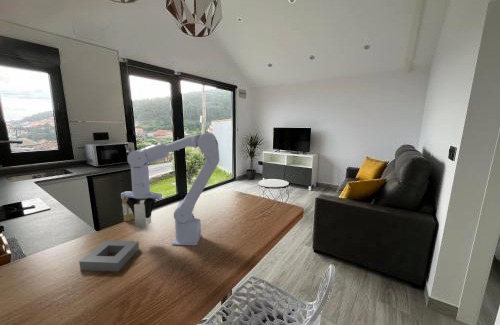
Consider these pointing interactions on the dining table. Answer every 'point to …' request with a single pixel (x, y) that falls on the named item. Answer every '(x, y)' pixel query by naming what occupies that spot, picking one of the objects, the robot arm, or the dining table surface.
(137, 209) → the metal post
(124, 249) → the frame
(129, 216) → the sprinkles bottle
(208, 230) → the dining table surface
